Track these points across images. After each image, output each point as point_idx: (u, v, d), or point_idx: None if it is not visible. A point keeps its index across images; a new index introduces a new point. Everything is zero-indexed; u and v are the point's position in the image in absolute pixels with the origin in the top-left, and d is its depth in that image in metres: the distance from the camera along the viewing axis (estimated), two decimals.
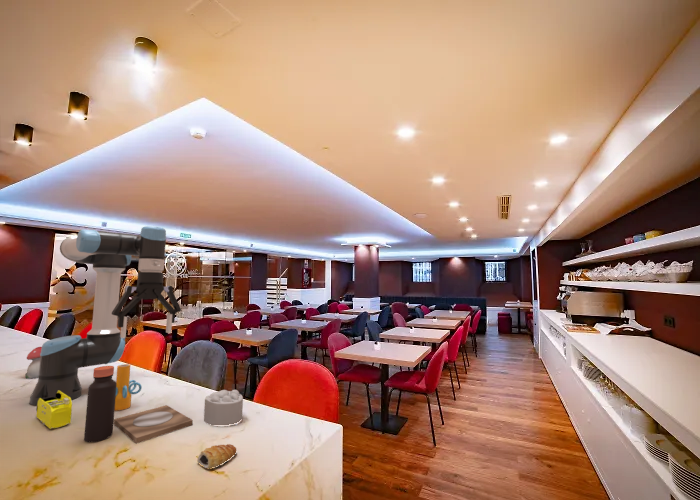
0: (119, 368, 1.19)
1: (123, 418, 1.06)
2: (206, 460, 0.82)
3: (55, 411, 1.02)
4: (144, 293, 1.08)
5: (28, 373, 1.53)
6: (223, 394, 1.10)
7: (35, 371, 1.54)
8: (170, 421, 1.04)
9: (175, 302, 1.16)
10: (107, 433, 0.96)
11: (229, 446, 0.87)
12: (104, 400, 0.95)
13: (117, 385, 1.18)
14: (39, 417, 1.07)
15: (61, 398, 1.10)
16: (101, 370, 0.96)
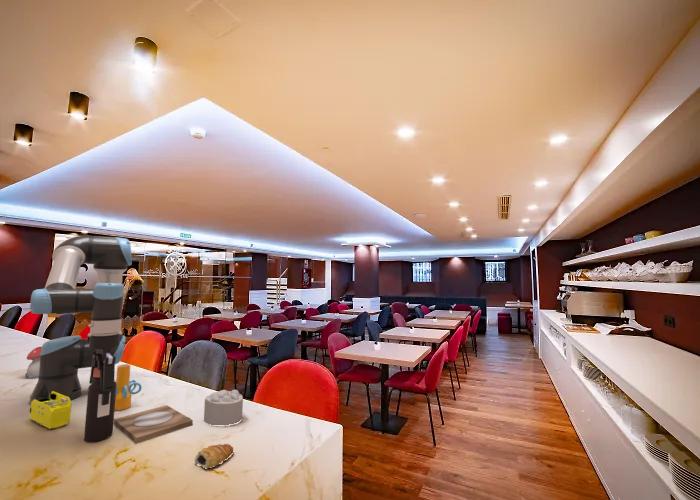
0: (119, 368, 1.19)
1: (123, 418, 1.06)
2: (204, 460, 0.82)
3: (55, 411, 1.02)
4: (94, 359, 0.99)
5: (28, 373, 1.53)
6: (223, 394, 1.10)
7: (35, 371, 1.54)
8: (170, 421, 1.04)
9: (103, 379, 0.94)
10: (107, 433, 0.96)
11: (226, 446, 0.87)
12: None
13: (117, 385, 1.18)
14: (34, 418, 1.06)
15: (57, 399, 1.10)
16: None
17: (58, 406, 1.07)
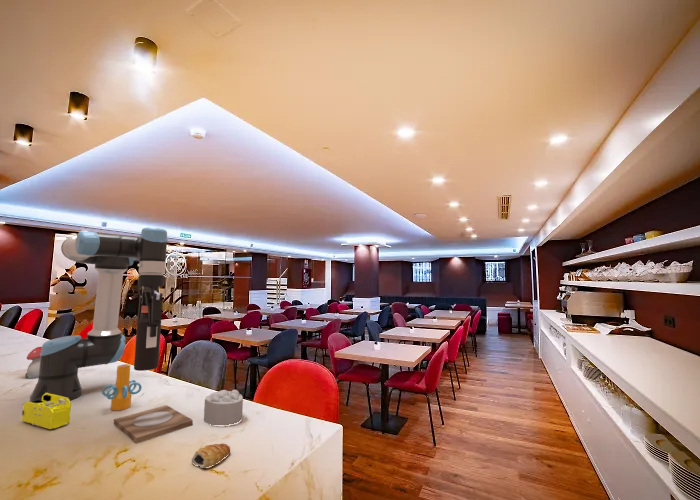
0: (119, 368, 1.19)
1: (123, 418, 1.06)
2: (201, 460, 0.82)
3: (55, 411, 1.02)
4: (142, 297, 1.07)
5: (28, 373, 1.53)
6: (223, 395, 1.10)
7: (35, 371, 1.54)
8: (170, 421, 1.04)
9: (152, 313, 1.02)
10: (154, 364, 1.04)
11: (223, 445, 0.88)
12: None
13: (117, 385, 1.18)
14: (28, 420, 1.05)
15: (52, 400, 1.09)
16: None
17: (55, 407, 1.06)
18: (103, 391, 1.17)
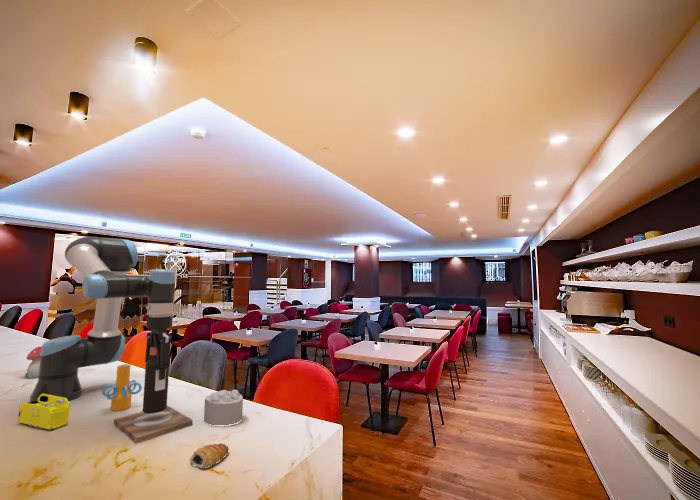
0: (119, 368, 1.19)
1: (123, 418, 1.06)
2: (200, 460, 0.82)
3: (54, 411, 1.01)
4: (150, 338, 1.08)
5: (28, 373, 1.53)
6: (223, 394, 1.10)
7: (35, 371, 1.54)
8: (170, 421, 1.04)
9: (161, 356, 1.03)
10: (163, 406, 1.05)
11: (221, 445, 0.88)
12: None
13: (117, 385, 1.18)
14: (25, 421, 1.04)
15: (49, 400, 1.08)
16: None
17: (53, 407, 1.06)
18: (103, 391, 1.17)
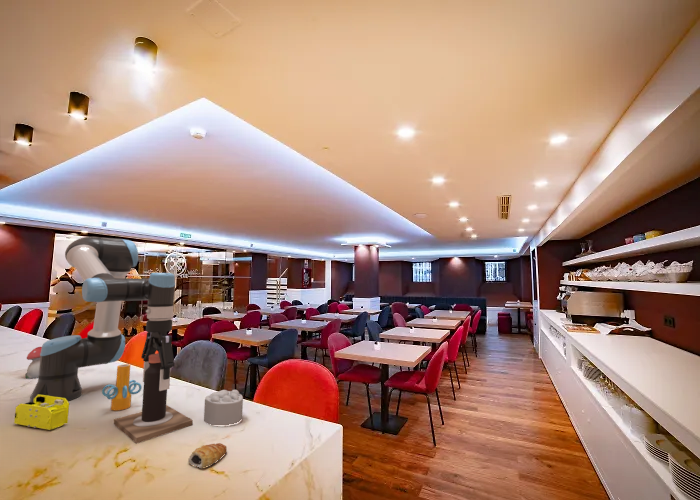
0: (119, 368, 1.19)
1: (123, 418, 1.06)
2: (198, 460, 0.82)
3: (54, 412, 1.01)
4: (149, 341, 1.08)
5: (28, 373, 1.53)
6: (223, 394, 1.10)
7: (35, 371, 1.54)
8: (170, 421, 1.04)
9: (164, 356, 1.02)
10: (162, 414, 1.05)
11: (219, 445, 0.88)
12: None
13: (117, 385, 1.18)
14: (22, 423, 1.03)
15: (46, 401, 1.08)
16: (156, 357, 1.06)
17: (51, 408, 1.05)
18: (103, 391, 1.17)
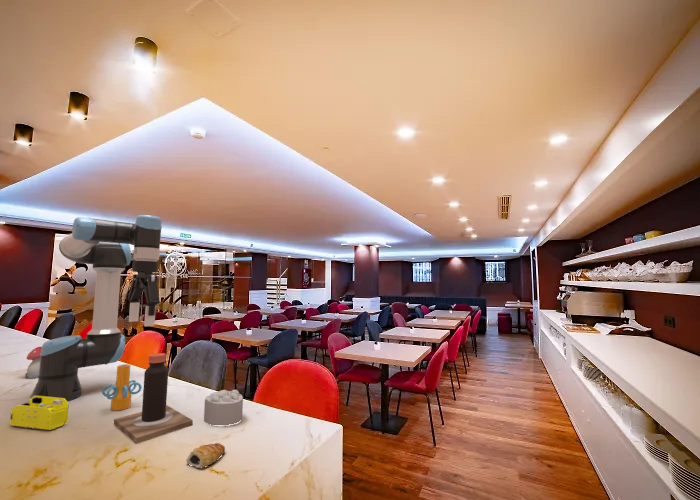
0: (119, 368, 1.19)
1: (123, 418, 1.06)
2: (197, 460, 0.82)
3: (54, 412, 1.01)
4: (136, 281, 1.11)
5: (28, 373, 1.53)
6: (223, 394, 1.10)
7: (35, 371, 1.54)
8: (170, 421, 1.04)
9: (149, 293, 1.05)
10: (162, 414, 1.05)
11: (217, 445, 0.88)
12: (159, 384, 1.05)
13: (117, 385, 1.18)
14: (19, 424, 1.02)
15: (43, 402, 1.07)
16: (156, 357, 1.06)
17: (50, 408, 1.05)
18: (103, 391, 1.17)
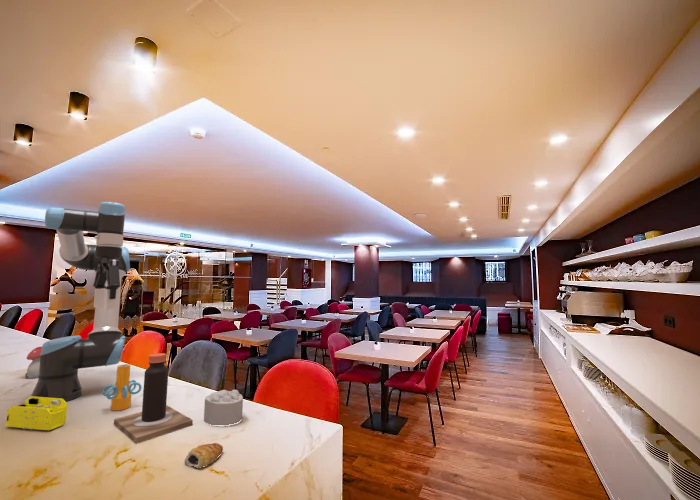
0: (119, 368, 1.19)
1: (123, 418, 1.06)
2: (195, 460, 0.82)
3: (53, 412, 1.01)
4: (99, 267, 1.13)
5: (28, 373, 1.53)
6: (223, 394, 1.10)
7: (35, 371, 1.54)
8: (170, 421, 1.04)
9: (110, 277, 1.07)
10: (162, 414, 1.05)
11: (215, 444, 0.88)
12: (159, 384, 1.05)
13: (117, 385, 1.18)
14: (16, 425, 1.01)
15: (40, 403, 1.06)
16: (156, 357, 1.06)
17: (47, 409, 1.04)
18: (103, 391, 1.17)
